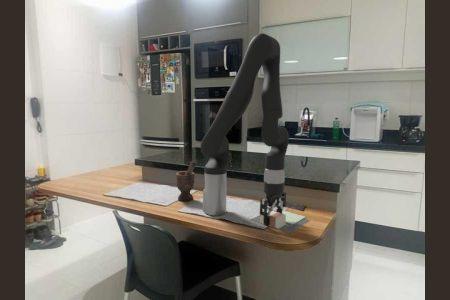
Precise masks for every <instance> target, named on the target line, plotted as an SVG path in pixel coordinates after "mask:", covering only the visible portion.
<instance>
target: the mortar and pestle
mask: <svg viewBox="0 0 450 300" xmlns="http://www.w3.org/2000/svg"><path fill="white" fill-rule="evenodd" d="M196 166H197V160H192V161H190V164H189V165H188V169H187V170H181V171H177V172H176V173H175V178H176V187H177V189H178V191H180V194H178V197H177V200H178V201H181V202H191V201H193V200H194V195H193V194H192V193H191V191H192V190H193V189H194V186H195V171H194V169H195V168H196Z"/></svg>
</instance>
